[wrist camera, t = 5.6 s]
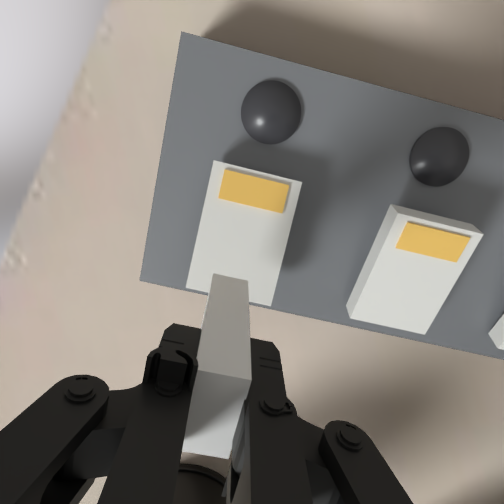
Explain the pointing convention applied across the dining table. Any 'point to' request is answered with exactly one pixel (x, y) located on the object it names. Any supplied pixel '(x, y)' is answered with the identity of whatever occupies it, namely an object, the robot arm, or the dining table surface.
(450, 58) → the dining table surface
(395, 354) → the dining table surface
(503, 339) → the plate
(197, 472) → the french press
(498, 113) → the dining table surface
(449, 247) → the rocker mid
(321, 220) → the grey rocker switch panel
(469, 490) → the dining table surface
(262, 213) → the rocker
